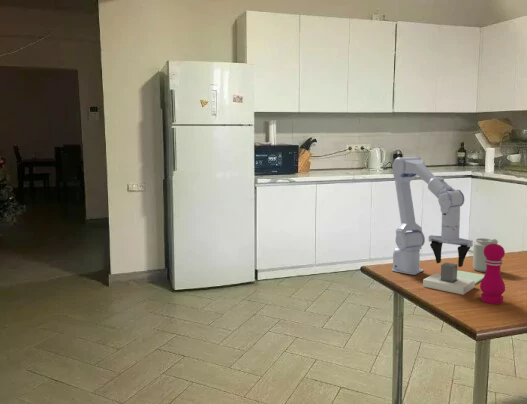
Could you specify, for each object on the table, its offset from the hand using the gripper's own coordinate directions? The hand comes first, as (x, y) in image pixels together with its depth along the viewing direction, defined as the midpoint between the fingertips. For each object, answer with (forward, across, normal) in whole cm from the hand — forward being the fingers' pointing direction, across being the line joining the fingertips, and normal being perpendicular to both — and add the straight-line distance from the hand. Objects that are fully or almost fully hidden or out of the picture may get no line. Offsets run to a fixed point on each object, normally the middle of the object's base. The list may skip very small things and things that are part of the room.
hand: (449, 264), depth 170 cm
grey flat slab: (+8, 0, 0) cm, 8 cm away
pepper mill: (+8, +16, -5) cm, 19 cm away
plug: (+8, 0, 0) cm, 8 cm away
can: (+8, +2, +28) cm, 29 cm away
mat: (+8, 0, +14) cm, 16 cm away
